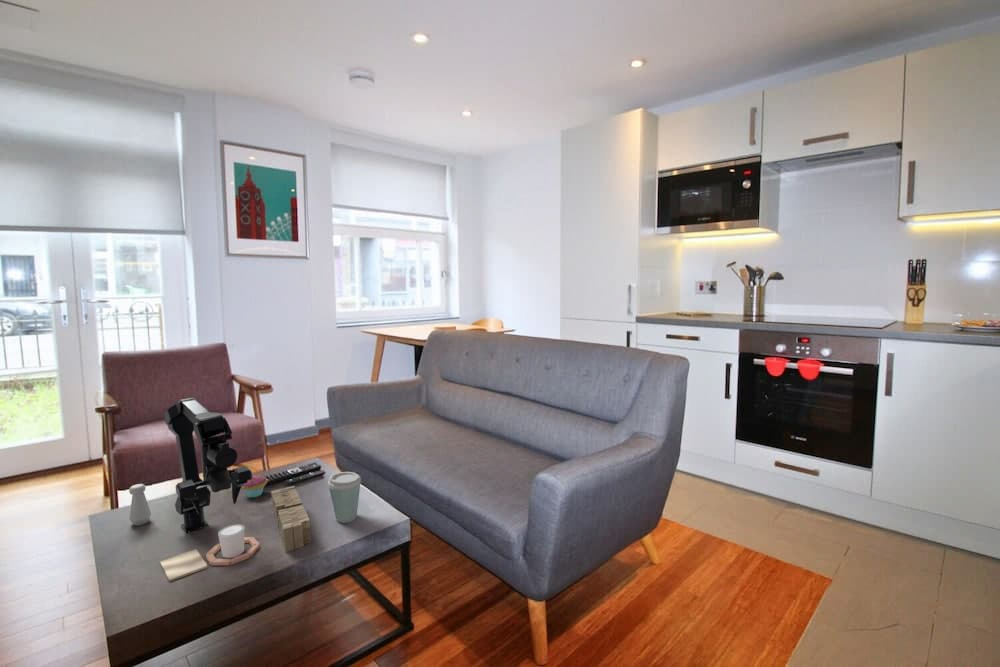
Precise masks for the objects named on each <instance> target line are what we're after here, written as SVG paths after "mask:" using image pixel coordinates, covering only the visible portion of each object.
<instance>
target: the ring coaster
mask: <svg viewBox="0 0 1000 667" xmlns="http://www.w3.org/2000/svg"><path fill="white" fill-rule="evenodd" d="M244 544H250V545H251V547H250V548H249V549H248V551H246V552H245V553H243V554H242V553H241V554H240V555H238V556H235V557H231V558H216V557H215V555H216V554H217V553H218V552H219V550H221V546H220V542H219V543H217V544H215V545H214V546H213V547H211V549H210V550H209V551H208V552H206V554H205V559H207V562H208V563H209V564H210V566H232V565H235V564H237V563H239V562H242V561H244V560H247V559H249V558H251V557H253V555H255V553H256V552H257V550H258V549H260V542H259V541H258V540H256V539H255V537H253V536H244Z"/></svg>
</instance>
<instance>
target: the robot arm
mask: <svg viewBox="0 0 1000 667" xmlns="http://www.w3.org/2000/svg"><path fill="white" fill-rule="evenodd" d="M164 422H165V424H166V425H167V429H168V430H169V431H170V432H171V433H172V434H173V435H174V436H175V438H176V439H175V441H176V446H177V451H178V459H179V464H180V472H181V479H182V481H181V482H177V484H176V485H175V492H176V495H177V498H176V499H175V503H174V507H175V512H177V513H178V514H179V515H180V516H182V515H183V516H182V519H183V523H181V525H180V527H181V528H182V529H183V531H184V533H190V532H193V531H196V530H199V529H202V528H205V527H208V526H209V523H208V522H207V520H206V519H205V511H204V510H205V509H204V508H205V507H209V506H210V504H211V493H219V492H221V491H224V490H225V491H226V490H229V489H231V494H232V496H231V497H232V498H231V500H232V503H233V504H234V505H235V504H236V503H237V502H238V497H239V495H240V494H239V493H240V491H241V490H242V486H243V485H244V484H245V483H247V482H248V481H247V480H251V479H252V476H253V473H252V472H253V471H252V470H251V468H250V469H249V468H248V467H247V466H246V465H242V466H238V467H235V468H232V469H228V468H231V467H232V466H233V465H234V464H235V463H236V462H237V460H238V452H237V450H235V448H234V447H232V446H230V443H229V442H227V441H229V440H232V439H233V437H232V434H233V432H232V431H233V430H232V429H231V427H230V425H229V422H228V421H227V419H226V418H225V417H224V416H223V415H222V414H221V413H218V412H210V411H208V409H206V408H205V407H204V406H203V405H201V404H200V403H199V402H198V399H197V398H196V397H188V398H184V399H179V400H177V401H176V403H175V404H174V405H172V406H170V407H169V408H167V409H166V411H165V413H164ZM194 434H195V436H196V439H197V441H198V443H199V445H200V454H201V455H200V456H201V468H202V478H203V479H202V478H201V477H200V472H199V466H198V460H197V454H196V452H197V451H196V446H195V440H194ZM209 487H210V489H211V490H210V489H209Z"/></svg>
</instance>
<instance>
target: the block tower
mask: <svg viewBox="0 0 1000 667" xmlns="http://www.w3.org/2000/svg"><path fill="white" fill-rule="evenodd" d="M270 493H271V501H272V513H273V517H274V518H275V519H274V520H275V522H276V525H277V526H276V527H277V529H278V531H279V534H280V535H279V536H281V541H282V543H283V548H284V553H287V552H291V551H294V550H297V548H298V549H301V548H303V546H305V545H306V544H309V542H310V543H312V535H311V534H312V532H311V520H310V518H309V514H308V513H307V511H306V509H305V507H304V504H303V502H302V500H301V497H300V496H299V493H298V491H297V490H296V486H295V485H293V486H287V487H284V488H279V489H276V490H271V491H270ZM305 543H306V544H305ZM300 547H301V548H300ZM290 550H291V551H290Z"/></svg>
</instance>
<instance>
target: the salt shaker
mask: <svg viewBox="0 0 1000 667" xmlns="http://www.w3.org/2000/svg"><path fill="white" fill-rule="evenodd" d="M145 491H146V485H145V484H144V483H138V484H133V485H132V486H130V487H129V488H128V492H129V494H130V495H132V496H131V501H130V502H131V503H130V509H129V510H130V512H129V517H128V518H129V521H130V522H131V523H132V525H133V526H135V527H136V526H138V527H139V526H143V525H145V524H147V523H148V522H149V521H150V518H151V516H152V512H151V509H150V506H149V503H148V499H147V497H146V495H145Z"/></svg>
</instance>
